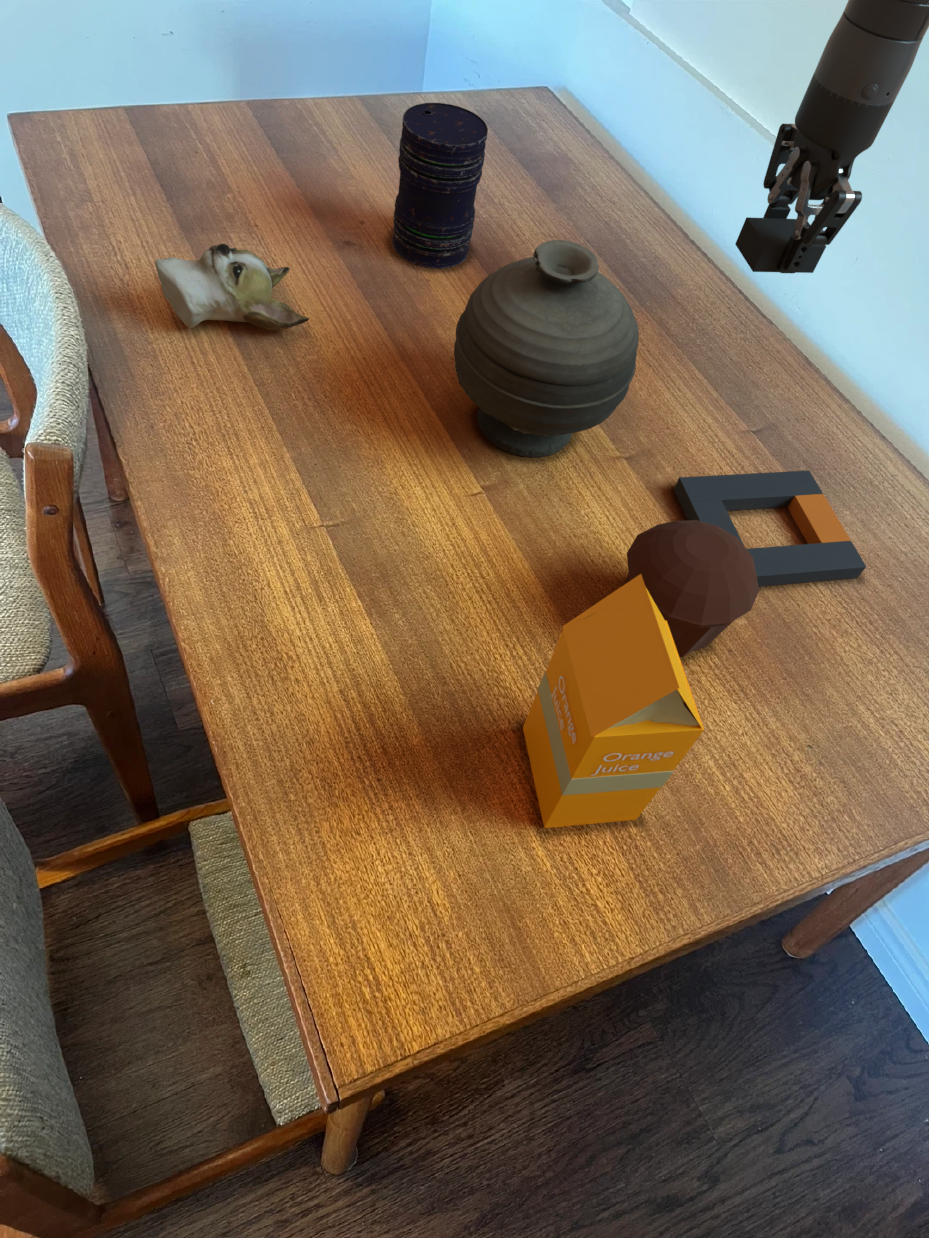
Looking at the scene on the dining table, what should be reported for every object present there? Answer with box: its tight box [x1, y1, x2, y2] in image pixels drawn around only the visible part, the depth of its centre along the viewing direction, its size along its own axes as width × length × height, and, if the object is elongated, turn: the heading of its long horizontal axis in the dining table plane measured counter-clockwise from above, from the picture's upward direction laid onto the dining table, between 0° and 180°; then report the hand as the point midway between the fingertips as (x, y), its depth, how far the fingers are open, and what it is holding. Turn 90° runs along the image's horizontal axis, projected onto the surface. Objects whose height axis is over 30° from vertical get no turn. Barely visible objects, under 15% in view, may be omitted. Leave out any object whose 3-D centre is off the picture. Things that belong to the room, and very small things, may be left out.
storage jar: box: [391, 102, 489, 270], centre depth 104 cm, size 10×10×15 cm
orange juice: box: [522, 574, 705, 829], centre depth 62 cm, size 8×9×20 cm
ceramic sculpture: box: [154, 243, 310, 331], centre depth 93 cm, size 11×9×15 cm
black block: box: [734, 216, 827, 274], centre depth 91 cm, size 7×5×3 cm
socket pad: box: [673, 470, 867, 588], centre depth 88 cm, size 15×13×2 cm
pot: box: [453, 239, 640, 458], centre depth 85 cm, size 18×18×20 cm
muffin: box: [624, 520, 760, 658], centre depth 77 cm, size 12×11×10 cm
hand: (775, 254), depth 91 cm, fingers closed on black block, 5 cm apart
